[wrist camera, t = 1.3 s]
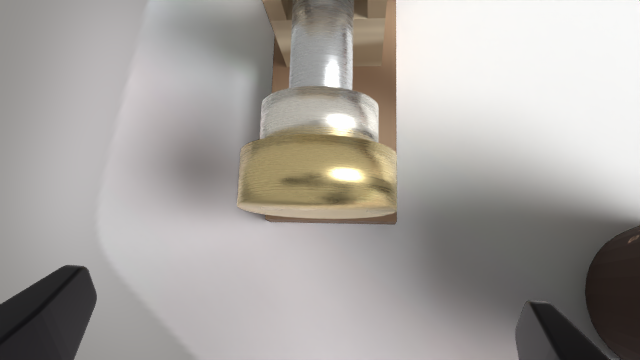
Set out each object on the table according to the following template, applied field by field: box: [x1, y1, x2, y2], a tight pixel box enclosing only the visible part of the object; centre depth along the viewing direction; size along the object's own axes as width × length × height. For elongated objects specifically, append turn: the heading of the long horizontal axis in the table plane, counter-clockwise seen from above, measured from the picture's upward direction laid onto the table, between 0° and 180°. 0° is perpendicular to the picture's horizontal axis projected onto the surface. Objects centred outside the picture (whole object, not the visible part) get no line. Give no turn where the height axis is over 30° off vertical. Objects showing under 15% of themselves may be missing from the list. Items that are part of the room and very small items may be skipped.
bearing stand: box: [262, 0, 397, 224], centre depth 18 cm, size 13×6×10 cm, turn 178°
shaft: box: [237, 0, 397, 219], centre depth 16 cm, size 9×5×5 cm, turn 178°
